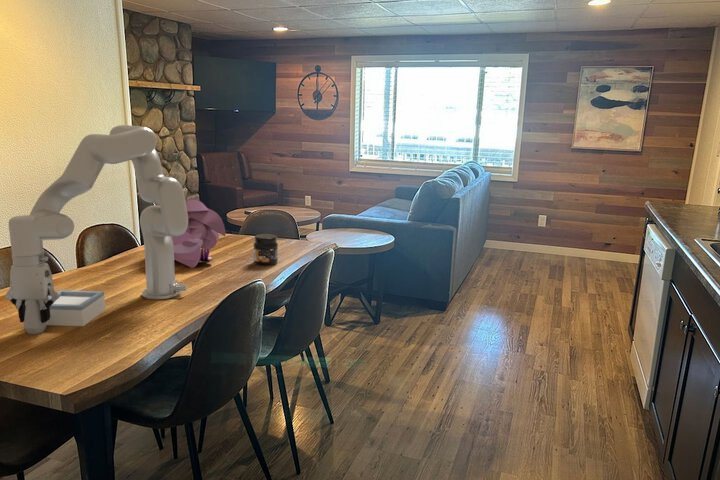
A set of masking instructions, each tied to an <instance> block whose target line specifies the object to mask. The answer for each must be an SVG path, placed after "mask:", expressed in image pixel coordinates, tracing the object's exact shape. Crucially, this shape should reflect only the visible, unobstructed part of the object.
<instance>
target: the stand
mask: <svg viewBox="0 0 720 480" xmlns="http://www.w3.org/2000/svg"><path fill="white" fill-rule="evenodd" d="M56 292H57V293H58V294H59V295H60V298H59V299H57V300H56V301H55V302H54V303H53V304H52V305H51V306H50V319H49V320H48V321H47V326H59V327H60V326H63V327H64V326H66V327H85V326H86V325H88V323H90V322H91V321H93V320H94V319H95V318H97V317H98V316H99V315H100V314H102V313H103V312H104V311H106V303H105V291H95V290H93V291H92V290H91V291H90V290H66V289H61V290H60V289H59V290H58V291H56ZM48 298H49V300H50V299H51V298H52V297H51V296H48Z"/></svg>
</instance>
